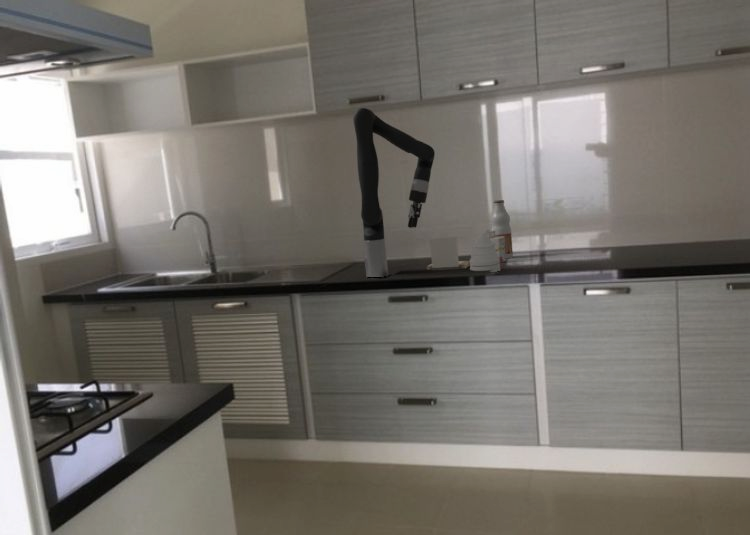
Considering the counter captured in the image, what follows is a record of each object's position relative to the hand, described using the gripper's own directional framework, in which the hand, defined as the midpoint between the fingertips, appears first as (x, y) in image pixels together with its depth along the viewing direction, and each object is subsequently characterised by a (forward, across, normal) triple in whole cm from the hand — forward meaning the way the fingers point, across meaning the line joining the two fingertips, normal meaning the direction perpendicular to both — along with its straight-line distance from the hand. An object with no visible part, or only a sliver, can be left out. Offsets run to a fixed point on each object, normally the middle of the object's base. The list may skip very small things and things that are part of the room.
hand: (411, 227), depth 286 cm
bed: (+15, -7, +22) cm, 28 cm away
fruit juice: (+4, -23, +51) cm, 56 cm away
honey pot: (+13, +9, +34) cm, 38 cm away
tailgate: (+15, -1, +19) cm, 24 cm away
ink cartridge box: (+7, -13, +46) cm, 48 cm away
